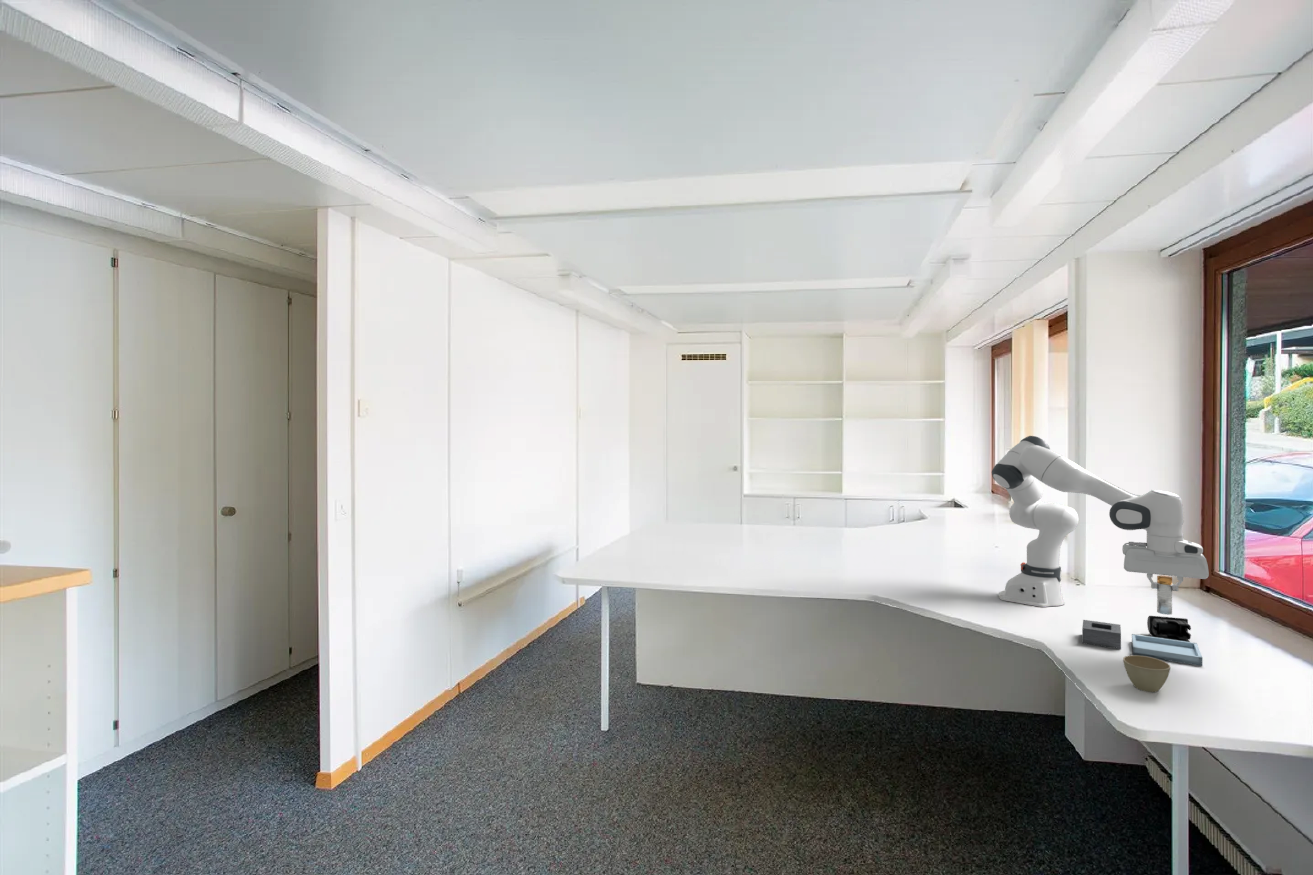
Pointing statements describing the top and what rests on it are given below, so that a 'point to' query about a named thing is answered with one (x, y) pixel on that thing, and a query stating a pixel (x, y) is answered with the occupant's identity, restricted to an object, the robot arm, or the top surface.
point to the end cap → (1169, 628)
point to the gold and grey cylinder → (1164, 594)
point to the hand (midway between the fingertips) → (1164, 589)
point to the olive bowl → (1146, 672)
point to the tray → (1166, 649)
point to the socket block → (1101, 634)
